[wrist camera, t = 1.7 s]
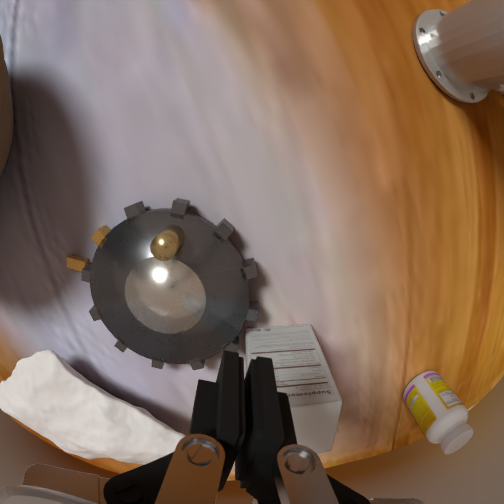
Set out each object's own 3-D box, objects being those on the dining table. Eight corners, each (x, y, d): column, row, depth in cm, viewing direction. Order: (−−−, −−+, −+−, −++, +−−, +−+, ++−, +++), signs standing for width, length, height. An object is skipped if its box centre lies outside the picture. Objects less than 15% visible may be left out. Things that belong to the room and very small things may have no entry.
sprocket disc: (279, 220, 28) (290, 236, 22) (237, 373, 33) (237, 409, 27) (98, 183, 26) (66, 189, 20) (90, 337, 31) (69, 366, 25)
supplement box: (307, 372, 34) (331, 453, 22) (246, 377, 34) (250, 461, 22) (312, 321, 32) (346, 401, 20) (244, 325, 32) (247, 410, 20)
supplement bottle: (406, 407, 38) (439, 465, 25) (396, 387, 36) (434, 450, 24) (440, 384, 37) (479, 436, 24) (434, 360, 35) (479, 416, 23)
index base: (198, 267, 29) (196, 271, 29) (190, 311, 31) (188, 315, 30) (71, 237, 28) (67, 240, 27) (70, 279, 29) (66, 283, 28)
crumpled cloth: (-18, 315, 29) (-50, 353, 21) (205, 358, 31) (197, 428, 23) (35, 410, 39) (19, 445, 31) (210, 450, 41) (207, 497, 33)
